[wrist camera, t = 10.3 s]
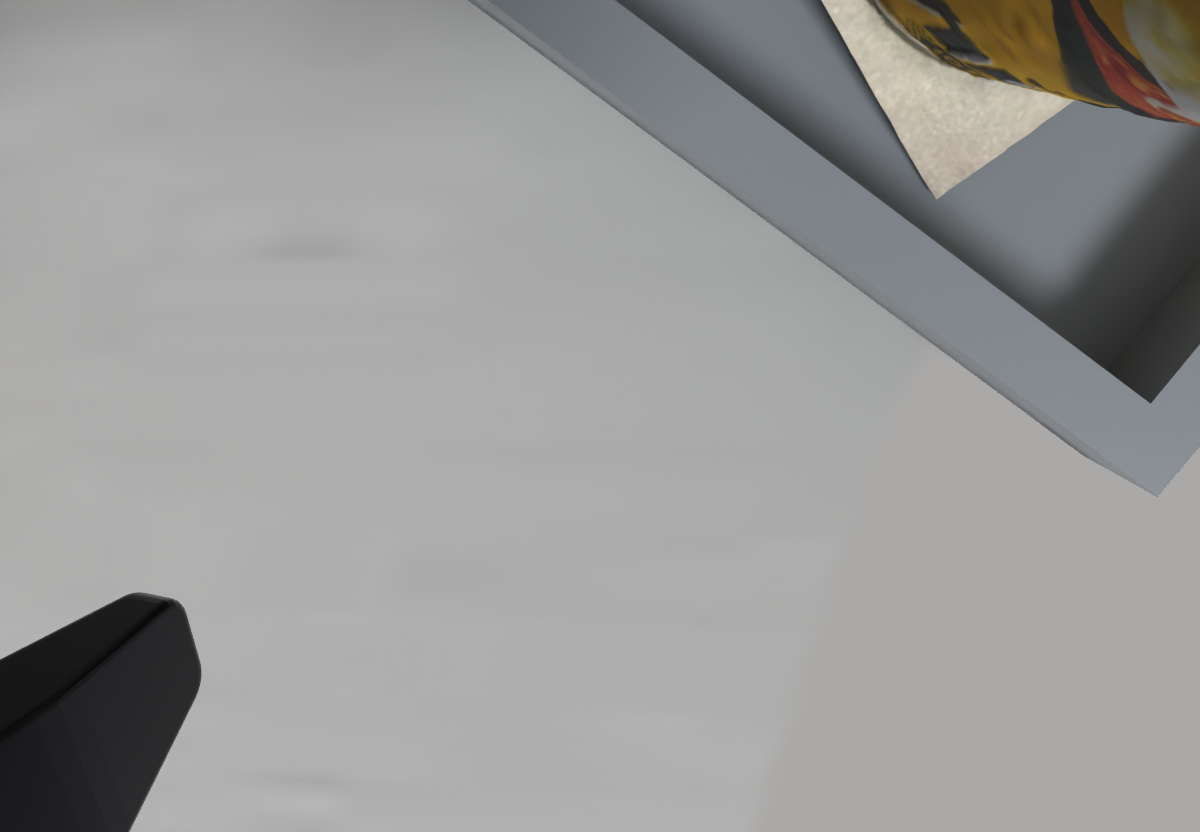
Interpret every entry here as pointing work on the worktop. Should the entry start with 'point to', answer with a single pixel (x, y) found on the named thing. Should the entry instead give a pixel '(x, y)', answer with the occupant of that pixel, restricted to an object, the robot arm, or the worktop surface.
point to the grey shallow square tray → (932, 209)
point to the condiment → (1016, 68)
